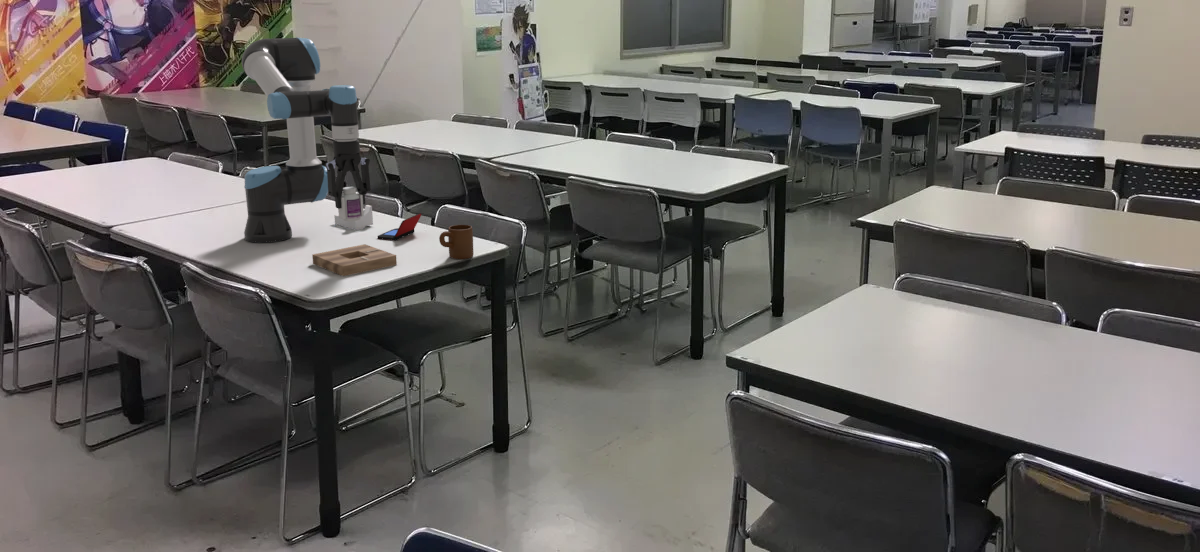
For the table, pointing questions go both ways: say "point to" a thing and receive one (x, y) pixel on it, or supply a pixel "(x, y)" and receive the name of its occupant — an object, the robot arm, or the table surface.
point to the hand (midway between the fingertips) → (351, 216)
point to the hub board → (354, 260)
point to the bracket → (358, 224)
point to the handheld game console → (401, 229)
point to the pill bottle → (351, 204)
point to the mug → (458, 241)
